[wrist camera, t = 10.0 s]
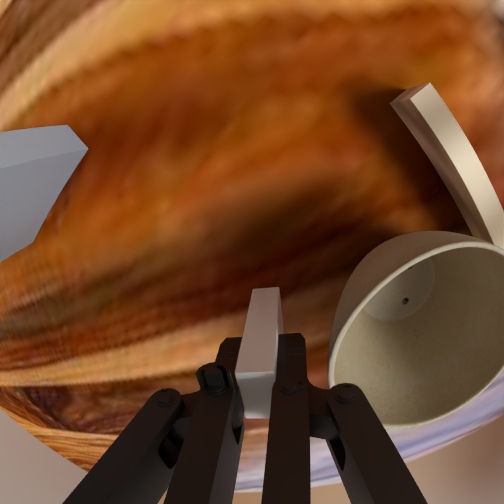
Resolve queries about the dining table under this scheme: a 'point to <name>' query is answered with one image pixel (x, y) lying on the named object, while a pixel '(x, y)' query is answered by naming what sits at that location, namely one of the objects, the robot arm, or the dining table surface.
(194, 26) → the dining table surface
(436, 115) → the l-shaped bracket
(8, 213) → the pale blue rectangular prism
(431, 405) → the flower pot
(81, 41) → the dining table surface
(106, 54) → the dining table surface
